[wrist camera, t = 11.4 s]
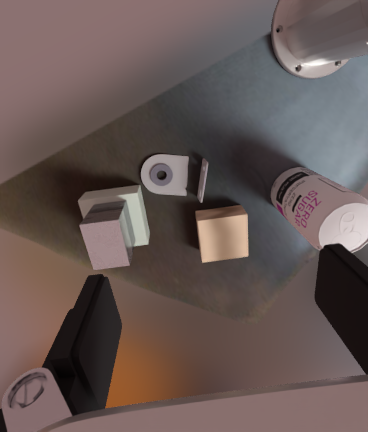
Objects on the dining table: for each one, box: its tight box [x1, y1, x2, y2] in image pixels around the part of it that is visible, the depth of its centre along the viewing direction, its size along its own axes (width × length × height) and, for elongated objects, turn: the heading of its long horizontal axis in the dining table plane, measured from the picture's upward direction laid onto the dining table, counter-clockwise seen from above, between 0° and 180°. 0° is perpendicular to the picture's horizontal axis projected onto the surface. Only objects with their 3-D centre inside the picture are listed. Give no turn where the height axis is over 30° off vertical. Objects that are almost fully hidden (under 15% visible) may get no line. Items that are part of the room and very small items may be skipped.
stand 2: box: [195, 205, 248, 263], centre depth 45 cm, size 8×8×4 cm
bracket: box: [141, 154, 208, 203], centre depth 41 cm, size 7×10×3 cm, turn 83°
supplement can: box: [271, 167, 368, 253], centre depth 38 cm, size 8×8×15 cm
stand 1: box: [78, 185, 150, 246], centre depth 43 cm, size 9×9×4 cm
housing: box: [79, 200, 136, 270], centre depth 37 cm, size 7×5×7 cm
